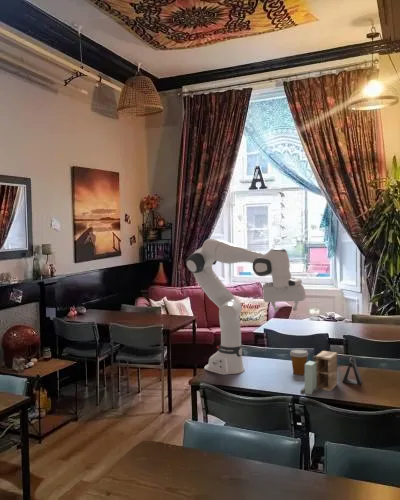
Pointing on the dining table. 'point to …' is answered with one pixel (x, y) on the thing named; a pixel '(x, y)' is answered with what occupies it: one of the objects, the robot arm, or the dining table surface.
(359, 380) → the dark grey triangular stand
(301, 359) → the disposable coffee cup
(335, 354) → the cabinet
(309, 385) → the pale green block
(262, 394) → the dining table surface
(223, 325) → the robot arm
